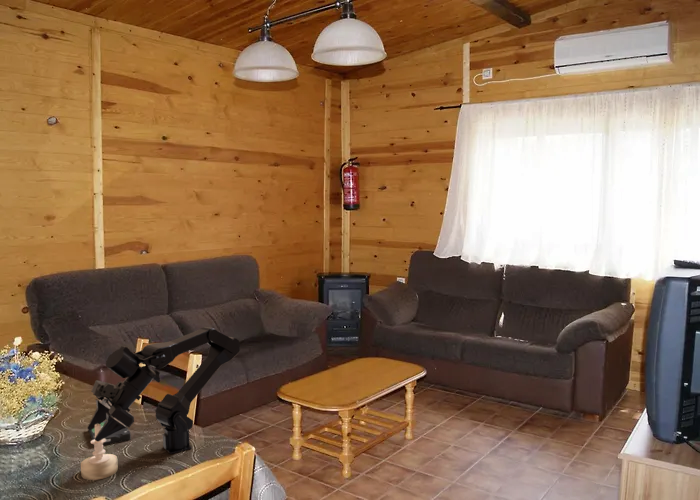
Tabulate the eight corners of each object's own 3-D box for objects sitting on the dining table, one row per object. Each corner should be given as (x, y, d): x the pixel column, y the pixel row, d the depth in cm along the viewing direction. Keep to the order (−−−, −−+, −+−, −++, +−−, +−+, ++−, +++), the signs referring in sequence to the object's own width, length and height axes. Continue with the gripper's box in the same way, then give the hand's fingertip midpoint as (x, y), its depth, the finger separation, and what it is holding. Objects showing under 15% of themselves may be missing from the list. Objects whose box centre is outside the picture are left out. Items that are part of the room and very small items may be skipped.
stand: (113, 461, 169) (112, 451, 168) (121, 473, 161) (121, 462, 161) (78, 470, 164) (77, 459, 163) (85, 483, 156) (84, 471, 156)
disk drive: (131, 441, 184) (122, 425, 196) (131, 432, 184) (121, 417, 196) (95, 449, 178) (87, 432, 191) (94, 440, 178) (87, 423, 191)
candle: (112, 455, 165) (110, 418, 164) (105, 464, 160) (103, 426, 159) (93, 456, 165) (91, 419, 164) (85, 465, 160) (83, 426, 159)
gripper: (102, 361, 170) (61, 408, 165) (118, 377, 154) (74, 430, 149) (132, 383, 175) (94, 429, 170) (151, 401, 160) (109, 452, 154)
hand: (92, 434), depth 161 cm, fingers open, 9 cm apart
